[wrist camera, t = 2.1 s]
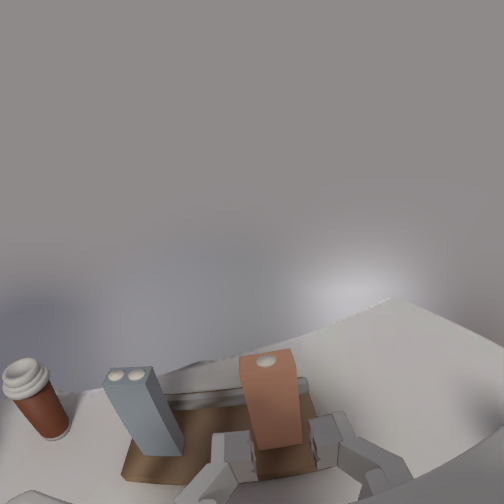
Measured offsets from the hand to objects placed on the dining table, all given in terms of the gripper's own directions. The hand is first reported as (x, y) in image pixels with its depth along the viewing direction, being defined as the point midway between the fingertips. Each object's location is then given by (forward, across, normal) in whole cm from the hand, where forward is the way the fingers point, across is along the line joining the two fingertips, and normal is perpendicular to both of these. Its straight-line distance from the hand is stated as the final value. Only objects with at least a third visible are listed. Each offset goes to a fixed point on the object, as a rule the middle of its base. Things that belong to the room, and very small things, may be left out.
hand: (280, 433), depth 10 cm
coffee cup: (+17, +35, +20) cm, 44 cm away
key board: (+17, +7, +20) cm, 27 cm away
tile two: (+14, +14, +18) cm, 27 cm away
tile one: (+14, 0, +18) cm, 23 cm away
